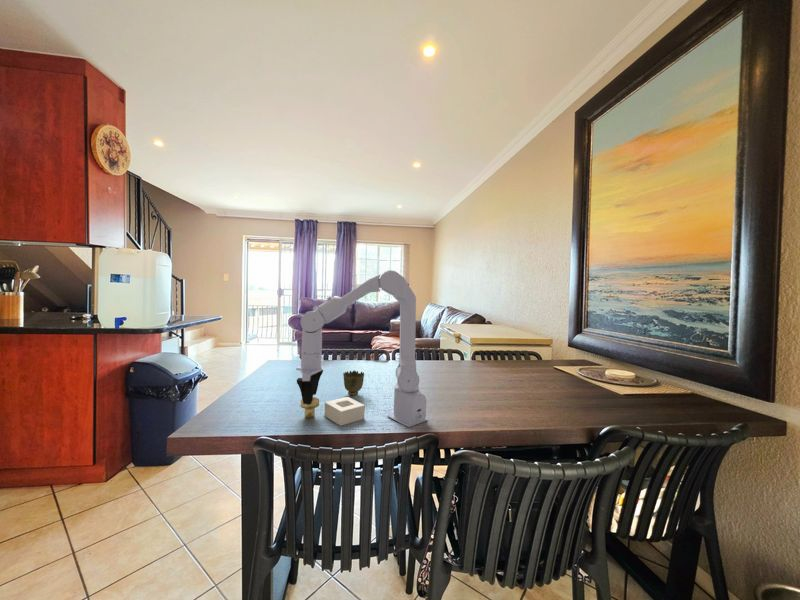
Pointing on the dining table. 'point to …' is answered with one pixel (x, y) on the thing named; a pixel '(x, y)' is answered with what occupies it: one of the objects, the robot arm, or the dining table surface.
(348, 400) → the block
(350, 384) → the cup
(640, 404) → the dining table surface
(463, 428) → the dining table surface
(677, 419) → the dining table surface
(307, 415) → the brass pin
